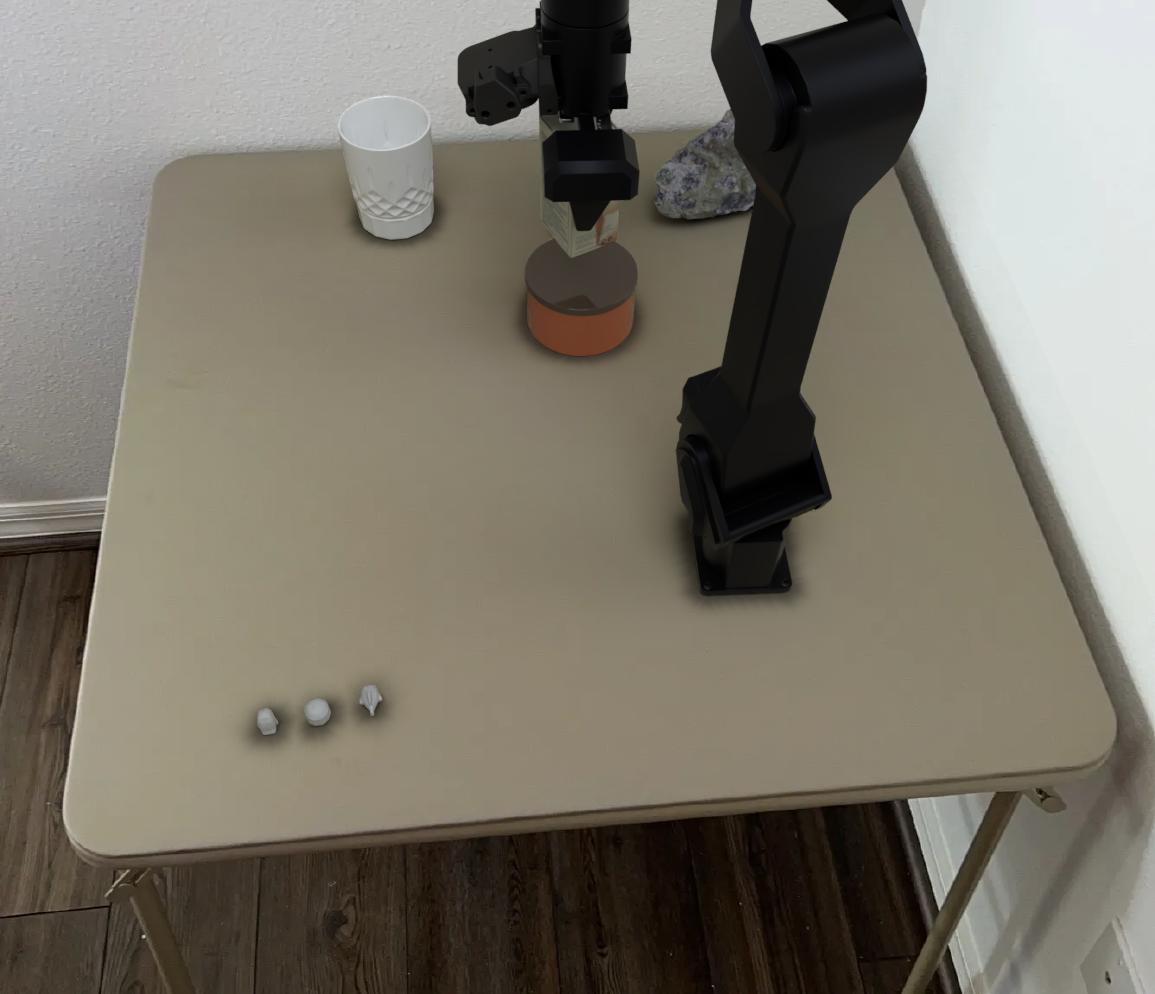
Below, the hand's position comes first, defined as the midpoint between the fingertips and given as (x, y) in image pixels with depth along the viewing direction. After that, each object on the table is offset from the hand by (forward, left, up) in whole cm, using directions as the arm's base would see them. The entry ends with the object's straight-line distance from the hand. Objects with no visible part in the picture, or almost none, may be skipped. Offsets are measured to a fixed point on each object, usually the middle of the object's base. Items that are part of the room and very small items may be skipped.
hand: (580, 201), depth 85 cm
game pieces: (-35, +19, -13) cm, 42 cm away
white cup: (+15, +16, -13) cm, 25 cm away
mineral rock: (+17, -14, -13) cm, 26 cm away
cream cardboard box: (0, 0, -3) cm, 3 cm away
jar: (+1, 0, -13) cm, 13 cm away
